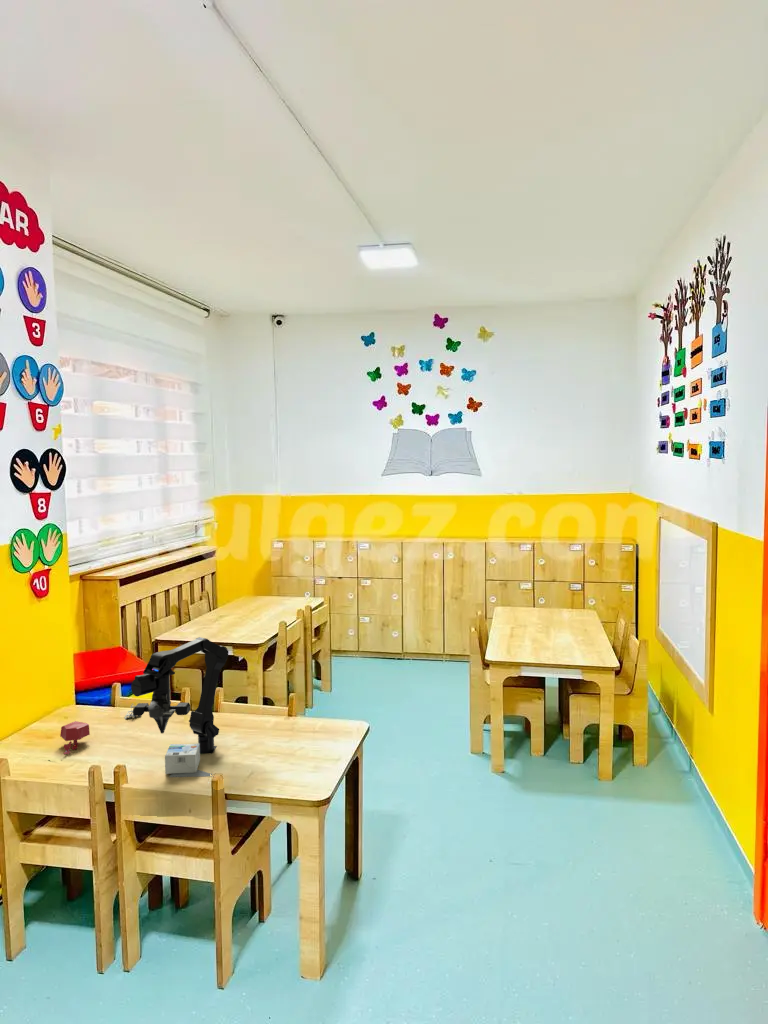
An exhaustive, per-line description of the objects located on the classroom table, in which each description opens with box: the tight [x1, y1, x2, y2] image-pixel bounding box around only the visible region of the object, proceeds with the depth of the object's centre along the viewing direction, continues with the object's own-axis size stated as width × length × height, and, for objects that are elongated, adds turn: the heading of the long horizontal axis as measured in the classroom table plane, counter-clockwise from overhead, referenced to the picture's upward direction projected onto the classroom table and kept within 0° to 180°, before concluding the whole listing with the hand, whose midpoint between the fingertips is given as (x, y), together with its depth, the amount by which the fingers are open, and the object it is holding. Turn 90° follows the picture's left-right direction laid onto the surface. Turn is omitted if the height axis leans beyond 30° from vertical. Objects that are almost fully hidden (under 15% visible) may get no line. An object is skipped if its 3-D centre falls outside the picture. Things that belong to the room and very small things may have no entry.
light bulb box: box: [164, 742, 201, 775], centre depth 260 cm, size 11×7×11 cm
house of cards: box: [124, 703, 140, 720], centre depth 313 cm, size 9×9×8 cm
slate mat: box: [169, 769, 213, 778], centre depth 258 cm, size 11×20×1 cm, turn 89°
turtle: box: [59, 720, 91, 755], centre depth 278 cm, size 15×20×9 cm
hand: (162, 733), depth 259 cm, fingers closed
